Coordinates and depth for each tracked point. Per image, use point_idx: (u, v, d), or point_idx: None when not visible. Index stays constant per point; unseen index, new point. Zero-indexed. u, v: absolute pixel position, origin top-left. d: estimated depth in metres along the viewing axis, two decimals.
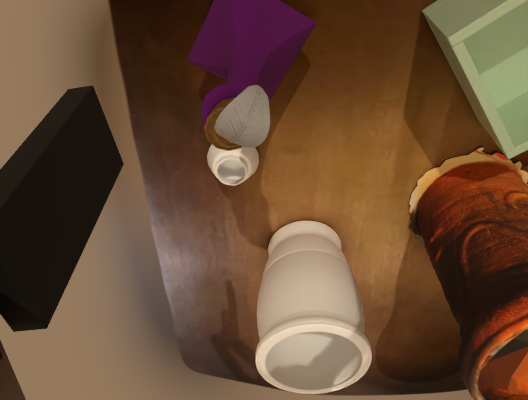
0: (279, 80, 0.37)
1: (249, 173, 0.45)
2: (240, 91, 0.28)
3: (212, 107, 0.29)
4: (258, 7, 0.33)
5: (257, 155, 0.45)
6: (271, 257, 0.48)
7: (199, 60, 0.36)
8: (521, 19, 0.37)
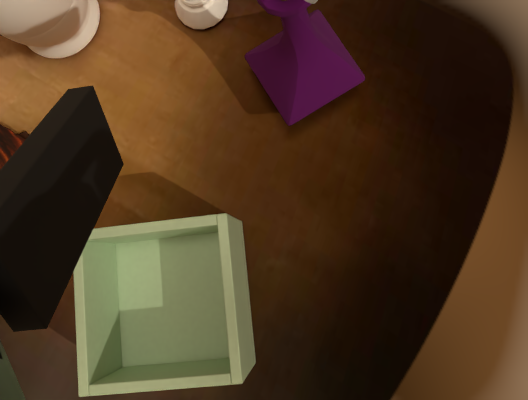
0: (259, 72, 0.39)
1: (182, 5, 0.42)
2: (303, 0, 0.29)
3: None
4: (330, 83, 0.37)
5: (192, 25, 0.43)
6: None
7: (315, 15, 0.38)
8: (190, 296, 0.40)
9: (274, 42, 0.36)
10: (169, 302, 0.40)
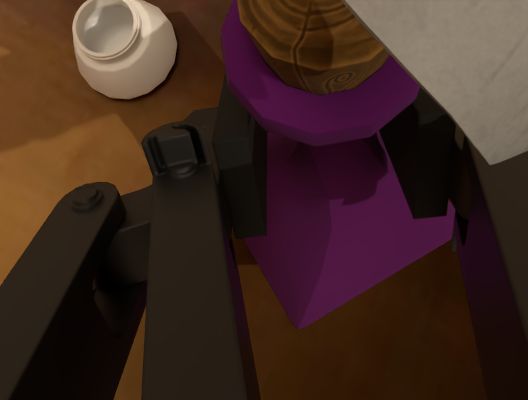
0: None
1: (82, 57, 0.21)
2: (391, 97, 0.08)
3: None
4: (395, 247, 0.16)
5: (107, 93, 0.22)
6: None
7: None
8: None
9: (270, 156, 0.15)
10: None
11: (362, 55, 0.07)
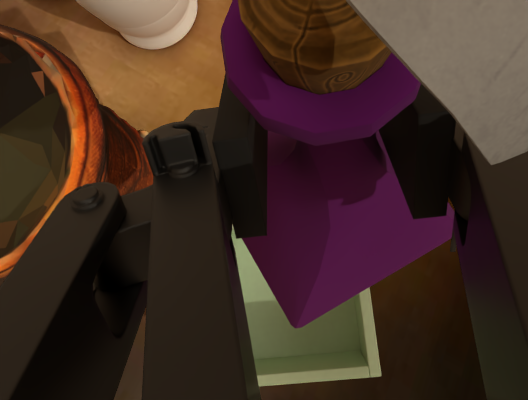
0: None
1: None
2: (391, 97, 0.08)
3: None
4: (393, 248, 0.16)
5: None
6: None
7: None
8: None
9: (269, 155, 0.15)
10: None
11: (363, 54, 0.07)
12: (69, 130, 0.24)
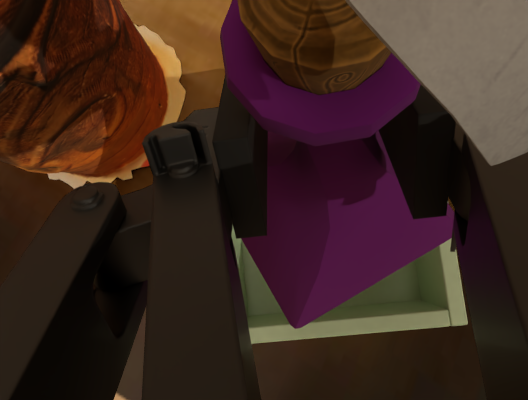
0: None
1: None
2: (391, 97, 0.08)
3: None
4: (393, 248, 0.16)
5: None
6: None
7: None
8: None
9: (268, 155, 0.15)
10: None
11: (362, 55, 0.07)
12: None
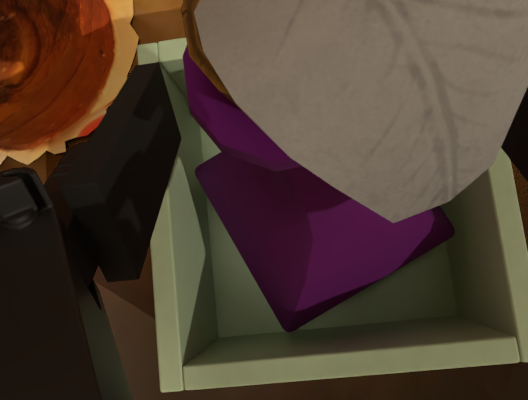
0: (224, 214, 0.18)
1: None
2: None
3: None
4: (382, 254, 0.16)
5: None
6: None
7: None
8: None
9: (255, 164, 0.15)
10: None
11: None
12: None
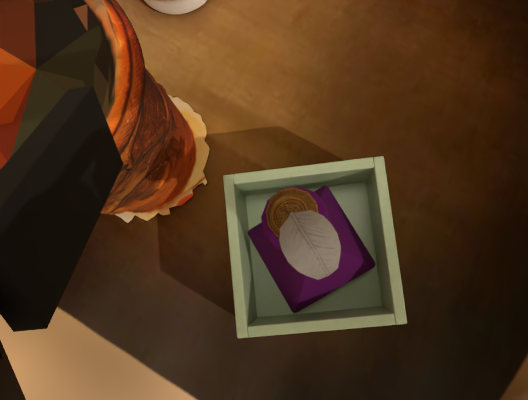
0: (263, 255, 0.36)
1: None
2: None
3: None
4: (338, 276, 0.35)
5: None
6: None
7: (323, 196, 0.36)
8: None
9: None
10: None
11: None
12: (112, 61, 0.24)
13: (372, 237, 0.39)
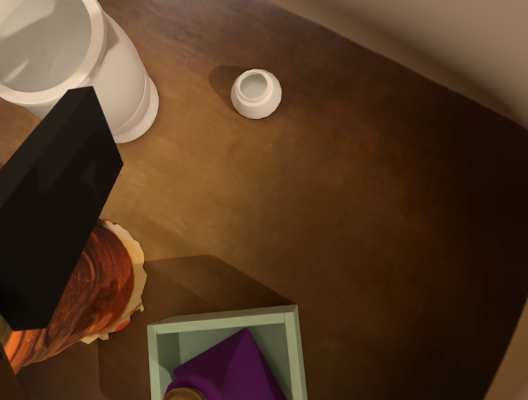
0: None
1: (239, 99, 0.45)
2: None
3: (207, 395, 0.30)
4: None
5: (248, 116, 0.46)
6: None
7: (241, 343, 0.39)
8: None
9: None
10: None
11: None
12: None
13: None
